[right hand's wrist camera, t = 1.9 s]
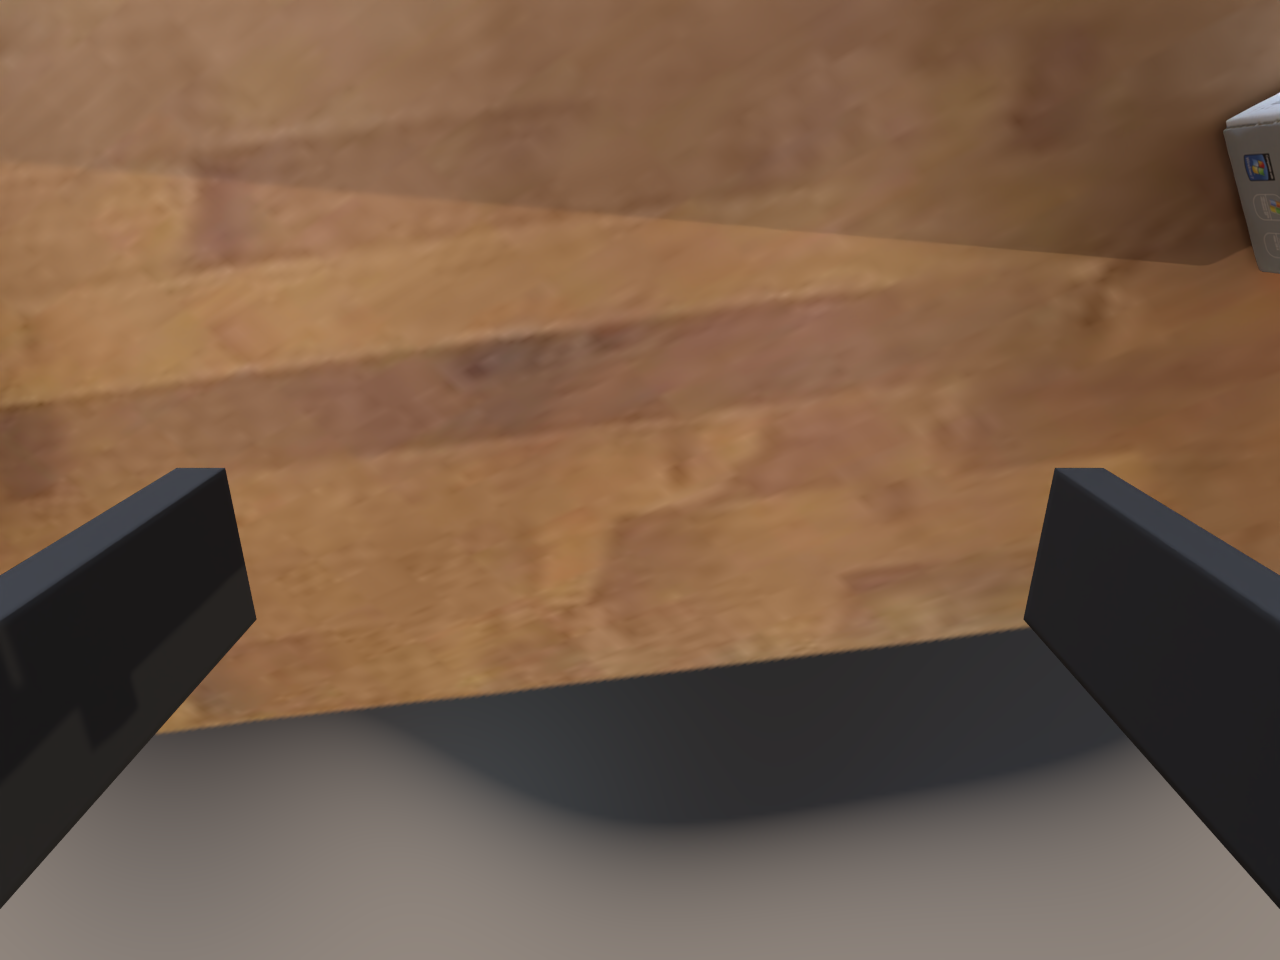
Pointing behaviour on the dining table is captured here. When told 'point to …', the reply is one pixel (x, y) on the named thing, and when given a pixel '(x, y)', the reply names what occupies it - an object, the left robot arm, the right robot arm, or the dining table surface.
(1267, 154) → the hard drive box
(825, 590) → the dining table surface
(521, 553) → the dining table surface
